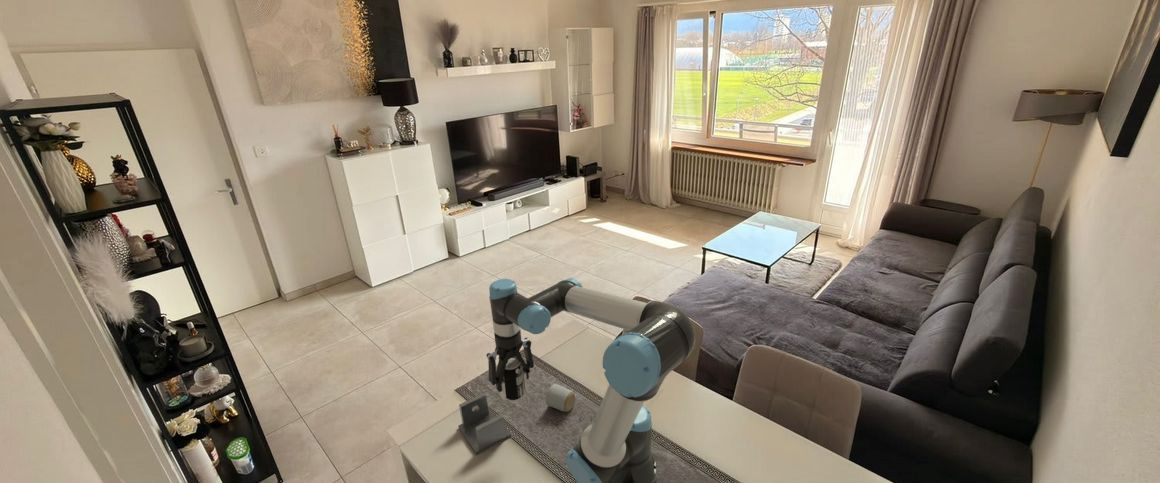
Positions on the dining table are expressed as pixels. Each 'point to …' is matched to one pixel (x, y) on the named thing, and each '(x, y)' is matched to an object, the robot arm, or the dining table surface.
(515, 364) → the beverage can
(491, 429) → the holder
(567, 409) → the ceramic mug
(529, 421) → the dining table surface
